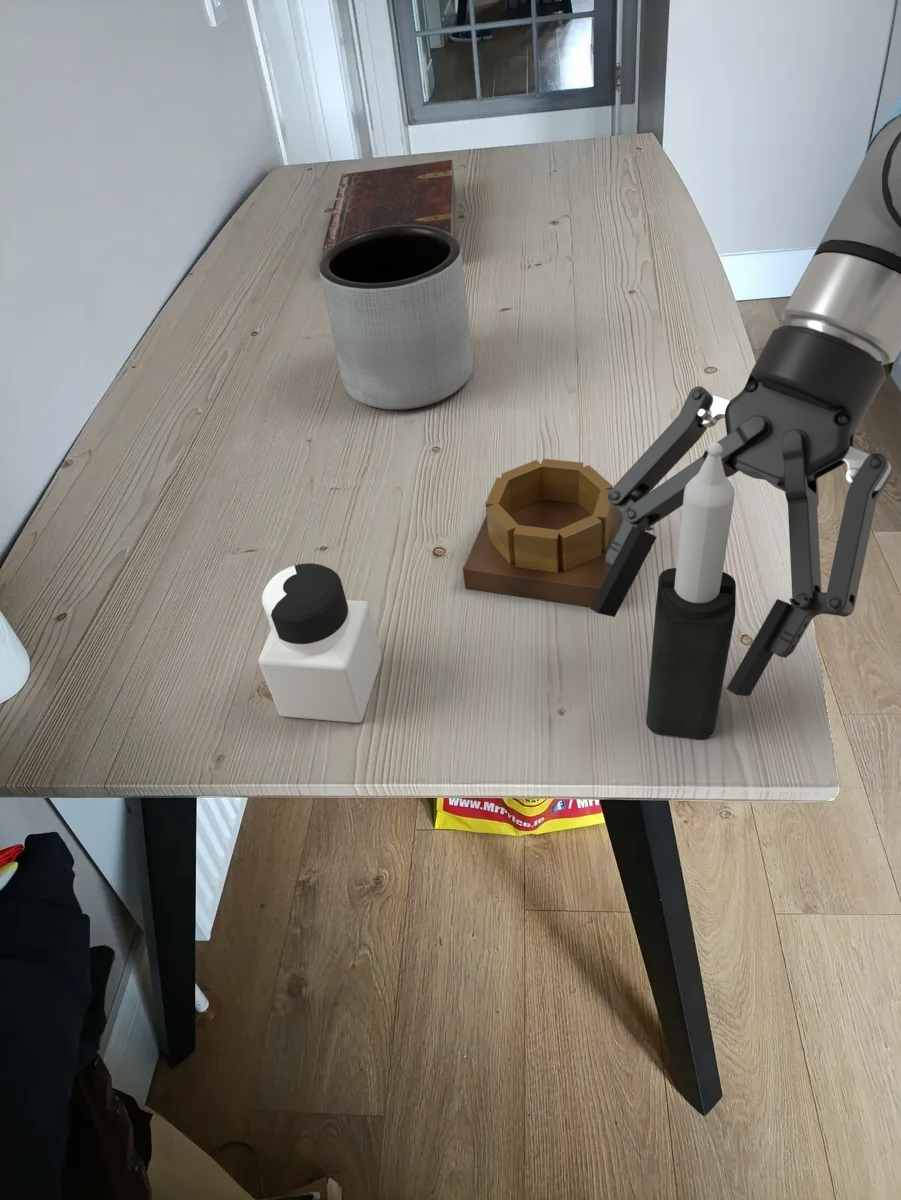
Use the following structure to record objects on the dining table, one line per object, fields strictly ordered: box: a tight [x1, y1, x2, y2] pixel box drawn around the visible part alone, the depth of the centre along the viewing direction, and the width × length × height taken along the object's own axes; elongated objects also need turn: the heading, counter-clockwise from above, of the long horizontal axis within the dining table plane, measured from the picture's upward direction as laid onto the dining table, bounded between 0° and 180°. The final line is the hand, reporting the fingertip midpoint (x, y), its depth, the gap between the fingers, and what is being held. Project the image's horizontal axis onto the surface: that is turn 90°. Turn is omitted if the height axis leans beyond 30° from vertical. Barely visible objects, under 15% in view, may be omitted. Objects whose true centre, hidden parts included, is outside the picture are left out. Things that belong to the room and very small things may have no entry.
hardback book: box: [321, 159, 456, 257], centre depth 136 cm, size 29×19×5 cm, turn 0°
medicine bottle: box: [258, 562, 382, 724], centre depth 69 cm, size 7×7×12 cm
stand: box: [462, 458, 623, 608], centre depth 80 cm, size 13×13×6 cm
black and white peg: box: [645, 441, 737, 741], centre depth 59 cm, size 5×5×25 cm
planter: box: [318, 225, 474, 411], centre depth 101 cm, size 16×16×16 cm
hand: (666, 650), depth 60 cm, fingers open, 10 cm apart
